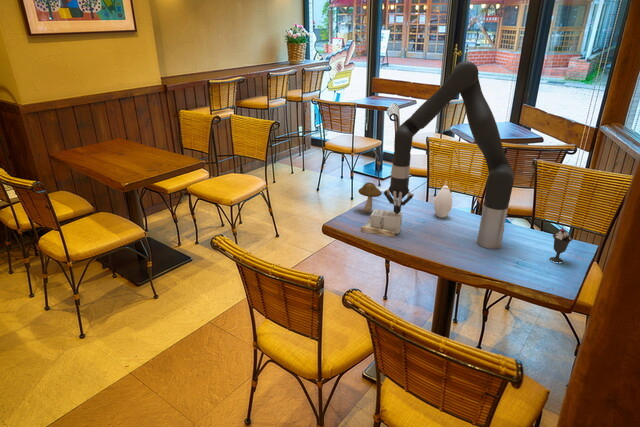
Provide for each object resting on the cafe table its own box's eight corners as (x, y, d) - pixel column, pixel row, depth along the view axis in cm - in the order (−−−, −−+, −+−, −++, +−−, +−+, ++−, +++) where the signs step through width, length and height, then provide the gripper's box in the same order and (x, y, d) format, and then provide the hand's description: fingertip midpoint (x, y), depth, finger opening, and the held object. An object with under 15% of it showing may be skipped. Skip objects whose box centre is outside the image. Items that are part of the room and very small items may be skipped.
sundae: (549, 254, 170) (557, 220, 164) (567, 260, 167) (577, 225, 161) (544, 261, 166) (553, 225, 160) (563, 266, 162) (573, 231, 156)
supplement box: (398, 234, 184) (369, 230, 188) (401, 227, 191) (372, 223, 194) (400, 218, 181) (370, 214, 185) (402, 211, 188) (373, 208, 191)
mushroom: (375, 218, 201) (377, 188, 194) (353, 213, 206) (355, 183, 200) (383, 211, 208) (385, 182, 202) (362, 206, 213) (363, 178, 207)
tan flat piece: (401, 224, 194) (401, 220, 193) (393, 237, 183) (394, 232, 182) (370, 219, 199) (370, 214, 199) (361, 231, 188) (361, 226, 187)
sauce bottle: (443, 221, 198) (448, 185, 191) (429, 216, 203) (434, 180, 196) (453, 217, 202) (458, 181, 195) (439, 212, 208) (444, 176, 201)
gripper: (417, 174, 179) (413, 212, 186) (387, 170, 184) (384, 207, 191) (414, 179, 173) (410, 219, 180) (382, 175, 178) (379, 213, 185)
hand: (396, 213), depth 185 cm, fingers closed
